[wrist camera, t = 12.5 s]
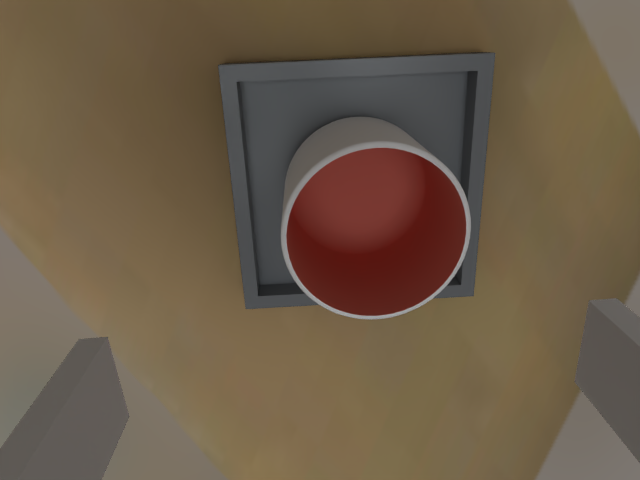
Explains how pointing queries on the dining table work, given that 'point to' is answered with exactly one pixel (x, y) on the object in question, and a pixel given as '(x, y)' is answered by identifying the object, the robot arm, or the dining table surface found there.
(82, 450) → the robot arm
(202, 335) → the dining table surface
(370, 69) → the tray
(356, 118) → the cup
